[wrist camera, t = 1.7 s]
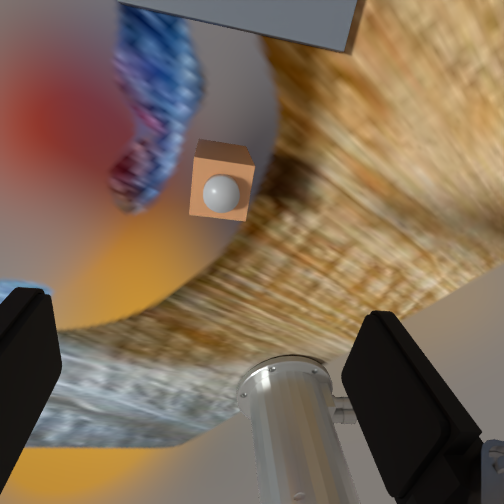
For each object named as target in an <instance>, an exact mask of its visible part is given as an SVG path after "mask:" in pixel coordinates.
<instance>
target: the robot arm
mask: <svg viewBox="0 0 504 504" xmlns="http://www.w3.org/2000/svg"><path fill="white" fill-rule="evenodd" d="M61 370H62V360H61V354H60V348H59V342H58V336H57V330H56V324H55V318H54V312H53V306H52V300H51V296H50V295H48V294H45V293H44V291H43V289H39V288H23V287H17V288H15V289H14V290H13V291H12V292H11V293H10V294H9V295H8V296H7V297H6V298H5V300H4V301H3V302H2V303H1V304H0V494H1V492H2V490H3V488H4V486H5V484H6V482H7V480H8V478H9V476H10V474H11V472H12V470H13V468H14V466H15V464H16V462H17V460H18V458H19V456H20V454H21V452H22V450H23V448H24V446H25V444H26V442H27V440H28V438H29V436H30V434H31V432H32V430H33V428H34V427H35V425H36V423H37V421H38V419H39V417H40V415H41V413H42V411H43V409H44V407H45V405H46V403H47V401H48V399H49V397H50V395H51V393H52V391H53V389H54V387H55V385H56V383H57V381H58V379H59V376H60V374H61ZM341 376H342V377H341V379H342V383H343V386H344V388H345V391H346V393H347V395H348V397H335V396H334V395H332V381H331V378H330V376H329V374H328V372H327V370H326V369H325V368H324V367H323V366H322V365H321V364H319V363H318V362H316V361H314V360H312V359H309V358H305V357H300V356H284V357H278V358H273V359H270V360H267V361H265V362H262V363H260V364H259V365H257V366H255V367H254V368H252V369H251V370H250V371H248V372H247V373H246V374H245V376H244V377H243V378H242V379H241V381H240V383H239V385H238V388H237V403H238V407H239V409H240V411H241V412H242V413H243V415H244V416H246V417H247V418H248V419H250V420H251V423H252V433H253V441H254V451H255V461H256V470H257V480H258V489H259V498H260V504H361V503H360V500H359V497H358V494H357V491H356V488H355V485H354V483H353V479H352V476H351V474H350V471H349V468H348V465H347V462H346V459H345V456H344V453H343V450H342V447H341V444H340V441H339V439H338V436H337V433H336V430H335V427H334V423H341V424H355V423H356V420H358V422H359V424H360V427H361V429H362V431H363V434H364V436H365V439H366V441H367V443H368V446H369V448H370V451H371V453H372V456H373V458H374V461H375V463H376V465H377V468H378V470H379V473H380V475H381V477H382V480H383V482H384V484H385V487H386V489H387V491H388V493H389V494H390V496H392V497H394V498H395V500H396V503H397V504H504V441H500V440H495V439H493V440H487V441H486V442H485V443H483V442H482V440H481V439H480V438H479V435H480V434H481V433H482V431H481V430H480V428H479V427H478V426H477V424H476V423H475V422H474V420H473V419H472V417H471V416H470V415H469V413H468V412H467V411H466V409H465V408H464V407H463V406H462V404H461V403H460V402H459V400H458V399H457V397H456V396H455V395H454V393H453V392H452V391H451V389H450V388H449V387H448V385H447V384H446V383H445V381H444V380H443V379H442V377H441V376H440V375H439V373H438V372H437V371H436V369H435V368H434V367H433V365H432V364H431V363H430V361H429V360H428V359H427V357H426V356H425V355H424V353H423V352H422V350H421V349H420V348H419V346H418V345H417V344H416V342H415V341H414V340H413V339H412V337H411V336H410V334H409V333H408V332H407V330H406V329H405V328H404V326H403V325H402V324H401V322H400V321H399V320H398V318H397V317H396V316H395V314H394V313H393V312H390V311H376V310H375V311H372V312H371V313H370V315H367V316H366V317H365V319H364V321H363V323H362V326H361V328H360V330H359V333H358V335H357V337H356V340H355V342H354V345H353V347H352V349H351V352H350V354H349V356H348V359H347V361H346V363H345V366H344V368H343V371H342V375H341Z"/></svg>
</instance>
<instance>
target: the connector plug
mask: <svg viewBox="0 0 504 504" xmlns="http://www.w3.org/2000/svg"><path fill="white" fill-rule="evenodd" d="M254 169H255V165H254V163H253V161H252V158H251V156H250V154H249V152H248V150H247V147H246V146H241V145H235V144H228V143H222V142H216V141H210V140H203V139H199V140H198V144H197V148H196V152H195V156H194V166H193V176H192V177H193V178H192V188H191V200H190V211H189V215H196V216H204V217H212V218H222V219H229V220H238V221H246V215H247V210H248V204H249V198H250V192H251V187H252V181H253V174H254Z"/></svg>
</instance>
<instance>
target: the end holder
mask: <svg viewBox="0 0 504 504" xmlns="http://www.w3.org/2000/svg"><path fill="white" fill-rule="evenodd" d="M118 2H119V3H121V4H123V5H128V6H132V7H137V8H141V9H146V10H150V11H155V12H159V13H164V14H168V15H173V16H177V17H182V18H186V19H191V20H195V21H200V22H205V23H209V24H213V25H218V26H222V27H227V28H232V29H237V30H241V31H246V32H250V33H254V34H259V35H263V36H268V37H272V38H277V39H281V40H286V41H290V42H295V43H299V44H304V45H308V46H313V47H317V48H322V49H326V50H331V51H335V52H344V49H345V45H346V41H347V37H348V34H349V30H350V26H351V22H352V18H353V14H354V10H355V6H356V3H357V0H118Z"/></svg>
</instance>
